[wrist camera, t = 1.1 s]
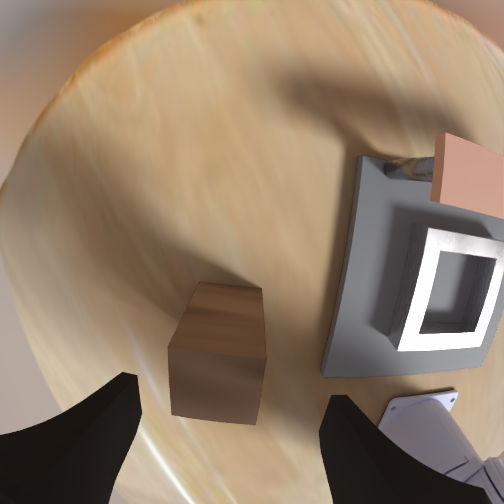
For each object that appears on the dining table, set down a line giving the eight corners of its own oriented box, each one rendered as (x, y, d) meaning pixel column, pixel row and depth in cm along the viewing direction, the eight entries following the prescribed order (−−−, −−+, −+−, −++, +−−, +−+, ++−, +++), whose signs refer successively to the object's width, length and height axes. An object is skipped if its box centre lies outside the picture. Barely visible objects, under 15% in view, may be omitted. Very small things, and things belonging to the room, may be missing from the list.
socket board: (476, 361, 21) (519, 405, 14) (320, 369, 21) (343, 443, 14) (520, 189, 17) (584, 200, 10) (359, 140, 17) (418, 123, 10)
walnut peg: (255, 342, 20) (255, 424, 13) (197, 336, 20) (171, 414, 13) (261, 288, 20) (266, 358, 12) (199, 282, 19) (167, 346, 12)
